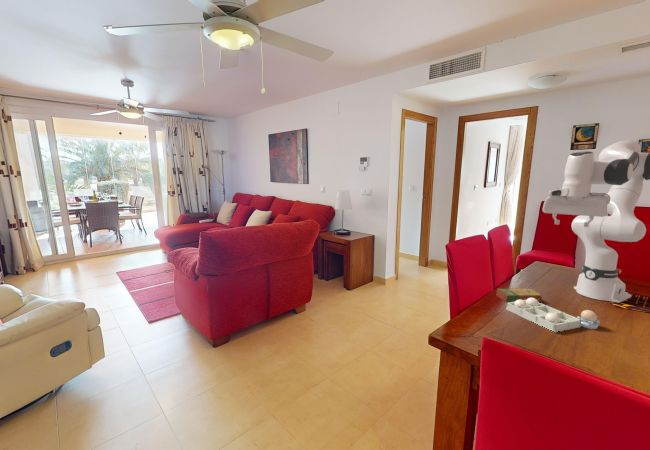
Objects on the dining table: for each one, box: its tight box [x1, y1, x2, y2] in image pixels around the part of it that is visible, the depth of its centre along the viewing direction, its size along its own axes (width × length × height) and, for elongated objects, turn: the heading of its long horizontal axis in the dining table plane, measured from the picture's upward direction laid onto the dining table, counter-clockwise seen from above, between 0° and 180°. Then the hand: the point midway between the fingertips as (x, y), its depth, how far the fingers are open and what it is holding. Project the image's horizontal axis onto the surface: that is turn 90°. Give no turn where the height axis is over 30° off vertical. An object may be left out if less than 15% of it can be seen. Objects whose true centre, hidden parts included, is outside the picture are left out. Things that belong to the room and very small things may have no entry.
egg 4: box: [580, 309, 598, 322], centre depth 112 cm, size 5×5×5 cm
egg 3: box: [545, 313, 560, 324], centre depth 111 cm, size 5×5×5 cm
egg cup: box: [576, 315, 600, 330], centre depth 113 cm, size 6×6×3 cm
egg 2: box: [526, 298, 539, 307], centre depth 126 cm, size 5×5×5 cm
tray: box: [505, 300, 582, 333], centre depth 119 cm, size 14×20×3 cm
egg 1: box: [514, 299, 527, 309], centre depth 124 cm, size 5×5×5 cm
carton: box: [495, 288, 542, 304], centre depth 137 cm, size 8×16×4 cm, turn 89°
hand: (571, 225), depth 120 cm, fingers open, 8 cm apart
